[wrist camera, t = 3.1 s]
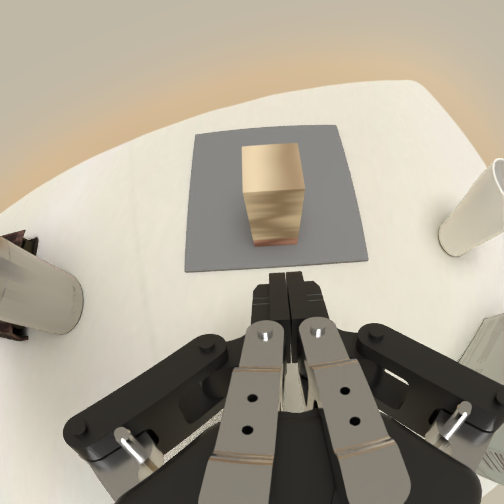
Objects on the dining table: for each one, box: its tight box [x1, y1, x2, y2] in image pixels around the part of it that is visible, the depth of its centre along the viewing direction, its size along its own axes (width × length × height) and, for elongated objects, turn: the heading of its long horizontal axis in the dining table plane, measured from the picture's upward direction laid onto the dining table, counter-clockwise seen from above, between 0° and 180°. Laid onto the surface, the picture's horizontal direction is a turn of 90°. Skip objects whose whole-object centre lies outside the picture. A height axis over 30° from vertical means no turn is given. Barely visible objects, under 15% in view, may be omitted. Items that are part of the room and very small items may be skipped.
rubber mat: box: [185, 125, 368, 272], centre depth 37 cm, size 22×22×1 cm
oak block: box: [242, 143, 305, 247], centre depth 29 cm, size 5×5×12 cm
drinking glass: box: [439, 158, 504, 257], centre depth 25 cm, size 7×7×15 cm
